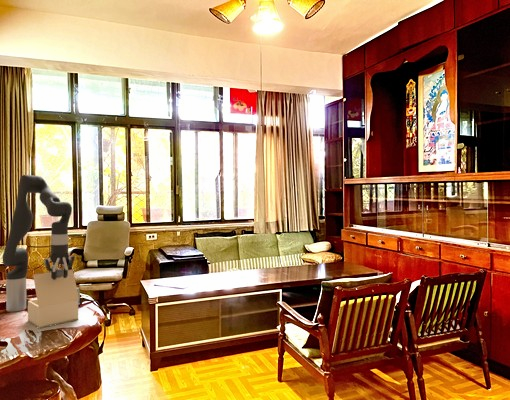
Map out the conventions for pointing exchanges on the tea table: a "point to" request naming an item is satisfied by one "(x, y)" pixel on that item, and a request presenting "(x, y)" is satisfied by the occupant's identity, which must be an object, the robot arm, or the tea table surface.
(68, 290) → the lid flap
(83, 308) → the tea table surface
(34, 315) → the carton
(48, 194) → the robot arm
